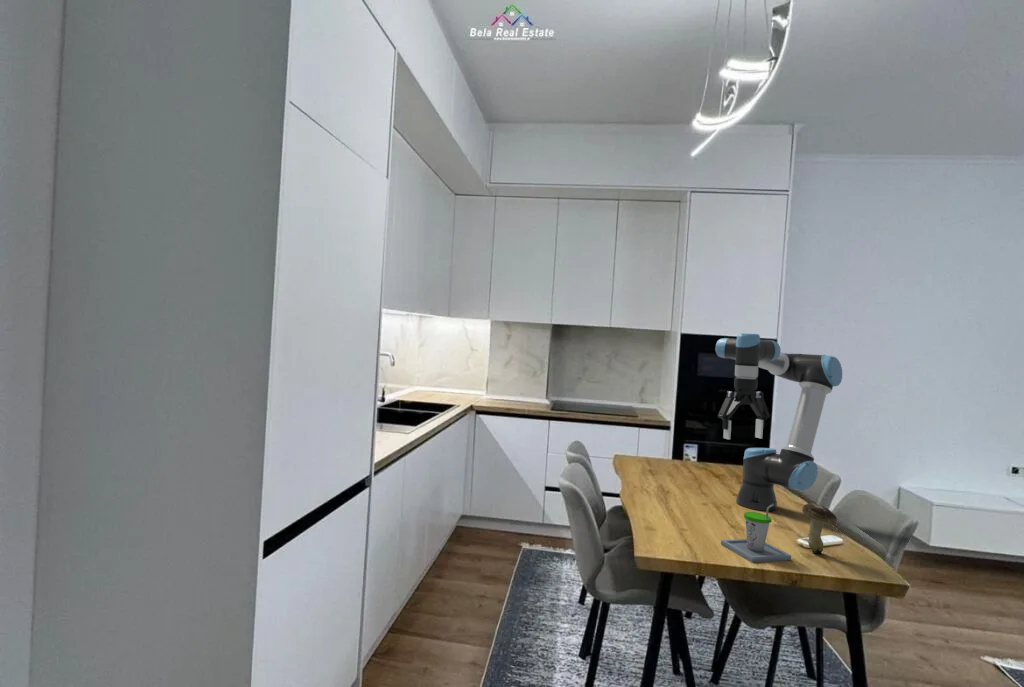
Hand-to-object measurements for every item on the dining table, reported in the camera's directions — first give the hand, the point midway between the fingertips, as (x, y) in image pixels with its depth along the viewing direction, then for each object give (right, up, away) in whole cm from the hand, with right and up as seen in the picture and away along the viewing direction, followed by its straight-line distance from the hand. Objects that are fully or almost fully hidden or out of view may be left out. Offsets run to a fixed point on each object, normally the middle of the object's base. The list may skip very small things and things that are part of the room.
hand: (742, 438), depth 196 cm
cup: (-6, -30, -24) cm, 39 cm away
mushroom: (+14, -32, -21) cm, 41 cm away
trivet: (-6, -31, -24) cm, 39 cm away
